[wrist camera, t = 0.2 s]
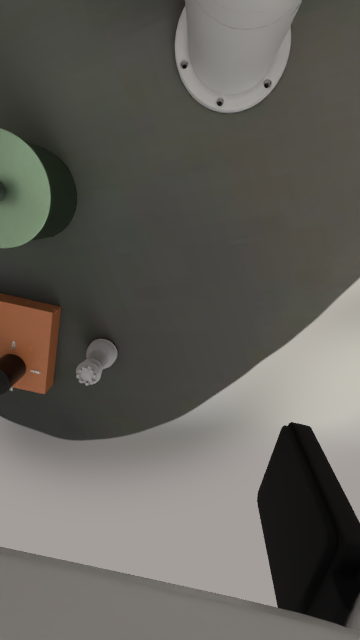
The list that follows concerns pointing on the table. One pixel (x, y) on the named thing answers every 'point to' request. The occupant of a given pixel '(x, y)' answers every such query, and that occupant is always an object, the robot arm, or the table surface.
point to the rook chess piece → (96, 361)
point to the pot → (57, 193)
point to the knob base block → (30, 339)
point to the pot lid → (22, 191)
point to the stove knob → (10, 371)
